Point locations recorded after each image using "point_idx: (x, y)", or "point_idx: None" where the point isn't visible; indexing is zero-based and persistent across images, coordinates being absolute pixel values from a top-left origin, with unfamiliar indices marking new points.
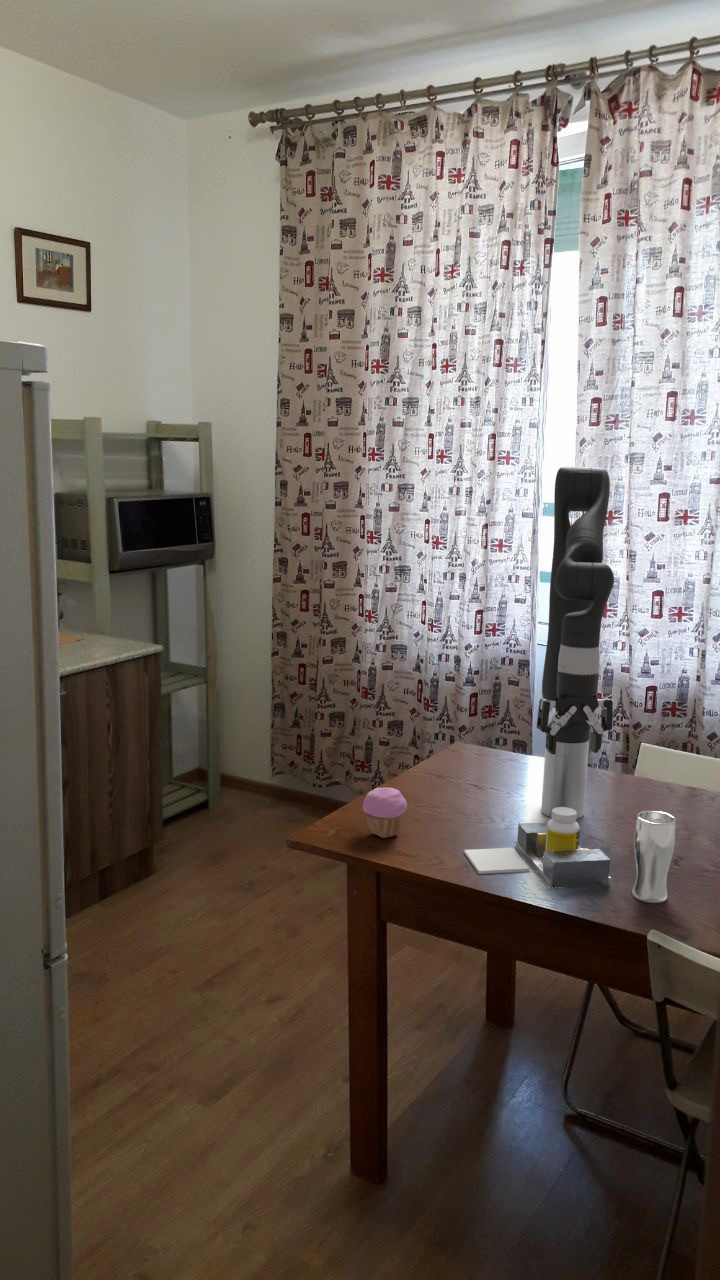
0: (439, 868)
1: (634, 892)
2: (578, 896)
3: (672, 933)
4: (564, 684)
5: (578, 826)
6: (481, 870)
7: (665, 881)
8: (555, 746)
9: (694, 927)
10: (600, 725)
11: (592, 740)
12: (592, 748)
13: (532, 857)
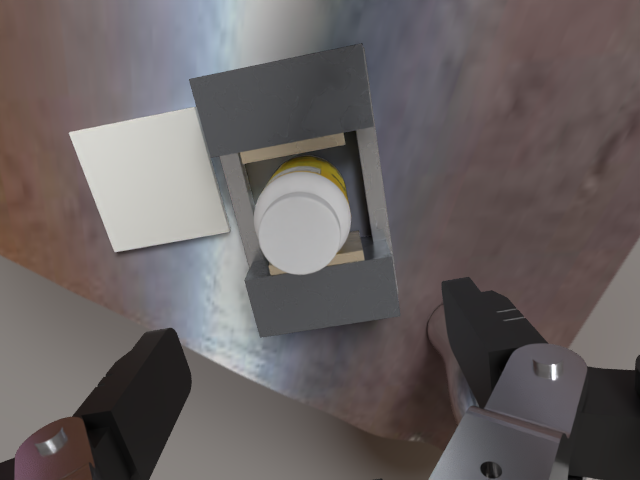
0: (28, 225)
1: (430, 335)
2: (316, 335)
3: (443, 446)
4: None
5: (344, 240)
6: (119, 249)
7: None
8: (171, 423)
9: None
10: (599, 455)
11: (467, 344)
12: (450, 321)
13: (236, 194)
